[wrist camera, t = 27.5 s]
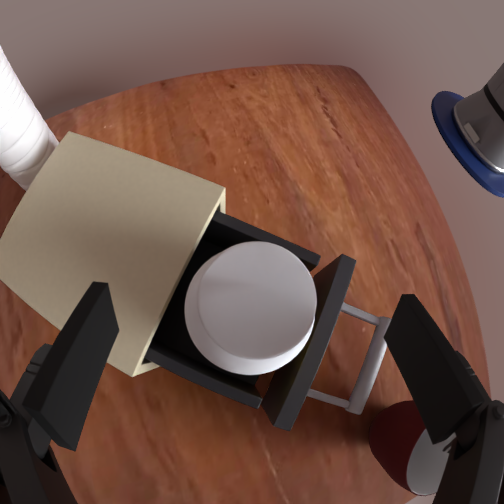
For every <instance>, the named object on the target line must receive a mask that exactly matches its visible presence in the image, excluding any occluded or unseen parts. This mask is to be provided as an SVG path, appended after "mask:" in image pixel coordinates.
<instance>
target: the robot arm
mask: <svg viewBox="0 0 504 504" xmlns="http://www.w3.org/2000/svg"><path fill="white" fill-rule="evenodd" d="M451 115H452V120H453V123H454V125H455V128H456V130H457V132H458V133H459V135H460V137H461V138H462V140H463V142H464V143H465V144H466V146H467V147H468V149H469V150H470V151H471V152H472V154H473V155H474V156H475V157H476V158H477V159H478V160H479V161H480V162H481V163H482V164H483V165H484V166H485V167H486V168H488V169H489V170H490V171H492V172H494V173H496V174H499V175H502V174H504V63H503V64H502V66H501V67H500V68H499V69H498V70H497V72H496V73H495V74H494V75H493V77H492V78H491V79H490V80H489V81H488V83H487V84H486V85H485V86H484V87H483V89H481V90H480V91H478V92H476V93H474V94H472V95H470V96H468V97H466V98H464V99H462V100H460V101H459V102H457V103H456V105H455V106H454V107H453V108H452V111H451ZM119 331H120V330H119V326H118V323H117V319H116V315H115V311H114V307H113V303H112V298H111V294H110V289H109V285H108V283H106V282H96V281H93V282H92V283H91V285H90V286H89V288H88V289H87V291H86V292H85V294H84V295H83V297H82V298H81V300H80V301H79V303H78V304H77V306H76V307H75V309H74V310H73V312H72V314H71V315H70V317H69V318H68V320H67V322H66V323H65V325H64V326H63V328H62V330H61V331H60V333H59V335H58V336H57V338H56V340H55V342H54V343H53V345H49V344H44V345H43V346H42V347H40V348H39V349H38V350H37V351H36V352H35V354H34V356H33V357H32V359H31V361H30V364H28V366H27V368H26V372H24V373H23V375H22V377H21V379H20V381H19V383H18V384H17V386H16V388H15V390H14V392H13V394H12V396H11V398H10V400H9V399H8V398H7V396H6V395H5V394H4V393H3V392H2V391H1V390H0V504H78V503H77V501H76V500H75V498H74V496H73V494H72V492H71V490H70V488H69V486H68V484H67V482H66V480H65V478H64V476H63V473H62V471H61V469H60V467H59V464H58V462H57V460H56V457H55V455H54V452H53V450H52V448H51V446H50V445H49V444H50V441H51V439H52V440H53V441H54V442H55V443H56V444H57V445H58V446H61V447H64V448H67V449H70V450H73V451H76V448H77V445H78V441H79V438H80V435H81V432H82V429H83V426H84V422H85V419H86V416H87V413H88V410H89V408H90V405H91V402H92V399H93V396H94V393H95V391H96V388H97V385H98V383H99V380H100V377H101V375H102V372H103V370H104V367H105V364H106V362H107V359H108V357H109V354H110V352H111V350H112V347H113V345H114V342H115V340H116V338H117V335H118V333H119ZM383 338H384V340H385V342H386V344H387V346H388V348H389V350H390V352H391V354H392V356H393V358H394V360H395V362H396V364H397V366H398V368H399V370H400V372H401V374H402V376H403V378H404V380H405V382H406V385H407V387H408V389H409V391H410V393H411V395H412V398H413V400H414V402H415V404H416V406H417V409H418V411H419V413H420V416H421V418H422V420H423V423H424V425H425V427H426V430H427V432H428V434H429V437H430V439H431V442H432V444H433V445H434V444H437V443H440V442H442V441H445V440H447V439H448V438H449V437H450V436H451V435H452V434H453V433H454V432H455V435H456V437H455V438H454V439H453V440H452V441H451V442H450V443H449V444H447V445H446V446H445V447H444V449H443V452H445V451H446V450H447V449H448V448H449V447H451V449H450V450H449V451H448V452H447V453H449V456H448V460H447V463H446V466H445V470H444V473H443V476H442V479H441V482H440V485H439V487H438V490H437V493H436V496H435V498H434V501H433V503H432V504H504V404H503V403H502V402H500V401H498V400H494V401H492V400H491V399H490V398H489V396H488V394H487V392H486V391H485V389H484V387H483V386H482V384H481V382H480V381H479V379H478V377H477V376H476V375H475V372H474V371H473V369H472V368H471V366H470V365H469V363H468V361H467V360H466V358H465V357H464V356H462V355H461V354H460V353H459V352H458V351H454V349H453V348H452V346H451V345H450V343H449V342H448V340H447V339H446V337H445V336H444V334H443V333H442V331H441V330H440V329H439V327H438V326H437V324H436V323H435V322H434V320H433V319H432V317H431V316H430V315H429V313H428V312H427V310H426V309H425V308H424V306H423V305H422V304H421V302H420V301H419V300H418V298H417V297H416V296H415V294H402V296H401V298H400V301H399V303H398V305H397V308H396V310H395V312H394V315H393V317H392V319H391V322H390V324H389V326H388V328H387V331H386V333H385V335H384V337H383Z"/></svg>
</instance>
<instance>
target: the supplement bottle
mask: <svg viewBox="0 0 504 504" xmlns="http://www.w3.org/2000/svg"><path fill="white" fill-rule="evenodd" d="M316 306H317V296H316V289H315V285H314V282H313V279H312V277H311V275H310V273H309V271H308V269H307V268H306V267H305V265H304V264H303V263H302V262H301V261H300V259H299V258H298V257H296V256H295V255H294V254H293V253H291V252H290V251H288V250H287V249H285V248H283V247H281V246H279V245H276V244H272V243H268V242H261V241H251V242H244V243H240V244H236V245H234V246H231V247H229V248H228V249H226V250H224V251H223V252H220V253H218V254H217V255H215V256H213V257H212V258H210V259H209V260H208V261H207V262H205V263H204V264H203V265H202V266H201V268H200V269H199V270H198V271H197V273H196V274H195V275H194V277H193V279H192V281H191V283H190V285H189V288H188V291H187V294H186V299H185V310H184V311H185V320H186V326H187V329H188V332H189V334H190V337H191V339H192V341H193V343H194V344H195V346H196V347H197V349H198V350H199V351H200V352H201V354H202V355H203V356H204V357H206V358H207V359H208V360H209V361H210V362H212V363H213V364H215V365H216V366H218V367H220V368H222V369H224V370H227V371H229V372H233V373H237V374H243V375H258V374H263V373H268V372H271V371H274V370H276V369H278V368H280V367H282V366H284V365H285V364H287V363H288V362H290V361H291V360H292V359H293V358H294V357H296V356H297V355H298V353H299V352H300V351H301V350H302V349H303V347H304V346H305V344H306V342H307V341H308V339H309V337H310V334H311V332H312V329H313V324H314V319H315V313H316Z"/></svg>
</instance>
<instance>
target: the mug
mask: <svg viewBox="0 0 504 504" xmlns="http://www.w3.org/2000/svg"><path fill="white" fill-rule="evenodd" d="M455 437H456V435H455V432H454V433H453V434H452V435H451V436H450V437H449V438H448V439H447V440H445V441H442V442H440V443H437V444H434V445H433V444H432V442H431V439H430V437H429V434H428V432H427V430H426V427H425V425H424V423H423V420H422V418H421V416H420V413H419V411H418V409H417V406H416V404H415V402H414V400H412V401H403V402H399V403H396V404H394V405H392V406H390V407H388V408H386V409H385V410H383V411H382V412H380V413H379V414H378V415H377V416H376V417H375V418H374V420H373V421H372V423H371V426H370V429H369V443H370V448H371V451H372V453H373V455H374V456H375V458H376V459H377V460H378V462H379V463H380V464H381V466H382V467H383V468H384V469H385V471H386V472H387V473H388V474H389V476H390V477H391V478H392V479H393V480H394V481H395V482H396V483H397V484H399V485H400V486H402V487H403V488H405V489H406V490H408V491H410V492H411V493H413V494H415V495H419V496H427V495H431V494H434V493H437V490H438V487H439V485H440V482H441V479H442V476H443V473H444V470H445V466H446V463H447V460H448V456H449V453H447V452H448V451H449V450H450V449H451V447H449V448H448V449H447V450H446V451H445V452H443V449H444V447H445V446H446V445H447V444H449V443H450V442H451V441H452V440H453V439H454V438H455Z"/></svg>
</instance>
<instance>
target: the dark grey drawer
mask: <svg viewBox="0 0 504 504" xmlns="http://www.w3.org/2000/svg"><path fill="white" fill-rule="evenodd" d="M251 241H261V242H268V243H272V244H276V245H279V246H281V247H283V248H285V249H287V250H288V251H290V252H291V253H293V254H294V255H295V256H296V257H298V258H299V259H300V261H301V262H302V263H303V264H304V265H305V267H306V268H307V269H308V271H309V272H310V271H312V270H313V269H314V268H315V267H316V266H317V265H318V263H319V260H320V258H321V256H320V255H318V254H316V253H313V252H311V251H309V250H307V249H305V248H302V247H300V246H298V245H296V244H293V243H291V242H289V241H287V240H284V239H282V238H280V237H277V236H275V235H273V234H271V233H268V232H266V231H264V230H261V229H259V228H257V227H255V226H252V225H250V224H248V223H245V222H243V221H241V220H238V219H236V218H234V217H231V216H229V215H227V214H224V213H222V212H219V211H217V210H216V211H215V213H214V215H213V217H212V219H211V221H210V223H209V224H208V226H207V228H206V230H205V232H204V234H203V236H202V238H201V240H200V242H199V244H198V246H197V247H196V249H195V251H194V253H193V255H192V257H191V259H190V261H189V263H188V265H187V267H186V269H185V271H184V273H183V275H182V277H181V279H180V281H179V283H178V285H177V287H176V289H175V292H174V294H173V296H172V298H171V300H170V302H169V304H168V306H167V308H166V310H165V312H164V315H163V317H162V319H161V321H160V323H159V325H158V327H157V330H156V332H155V334H154V336H153V338H152V341H151V343H150V345H149V347H148V349H147V352H146V354H145V356H144V358H146V359H148V360H150V361H151V362H153V363H155V364H157V365H159V366H161V367H163V368H165V369H167V370H169V371H171V372H173V373H175V374H177V375H179V376H181V377H183V378H185V379H187V380H189V381H191V382H193V383H196V384H198V385H200V386H202V387H204V388H207V389H209V390H211V391H214V392H216V393H218V394H221V395H223V396H225V397H228V398H230V399H233V400H235V401H238V402H240V403H243V404H245V405H248V406H251V407H253V408H256V409H258V408H259V406H260V404H261V405H262V407H263V409H264V410H265V412H266V414H267V416H268V418H269V419H270V421H271V423H272V425H273V426H275V427H278V428H281V429H284V430H287V431H290V430H291V428H292V426H293V424H294V422H295V420H296V418H297V416H298V413H299V411H300V409H301V407H302V405H303V403H304V400H305V398H306V396H308V397H311V398H314V399H317V400H321V401H324V402H327V403H330V404H334V405H337V406H340V407H344V408H345V410H346V411H348V412H351V413H354V414H358V415H360V414H361V413H362V411H363V408H364V406H365V404H366V401H367V399H368V396H369V394H370V391H371V389H372V386H373V384H374V381H375V379H376V376H377V373H378V371H379V368H380V365H381V362H382V359H383V356H384V353H385V350H386V347H387V344H386V342H385V340H384V338H383V337H384V335H385V333H386V331H387V328H388V326H389V324H390V322H391V318H388V317H376V316H374V315H372V314H369V313H367V312H365V311H362V310H360V309H358V308H355V307H353V306H351V305H348V304H346V303H344V302H343V301H344V298H345V295H346V292H347V289H348V286H349V283H350V280H351V277H352V274H353V271H354V267H355V264H356V260H354V259H352V258H350V257H348V256H346V255H344V254H341V255H340V256H339V257H337V258H336V259H335V260H334V261H332V262H331V263H330V264H329V265H327V266H326V267H325V268H323V269H322V270H321V271H320V272H318V273H317V274H316V275H314V278H313V282H314V285H315V289H316V296H317V306H316V313H315V319H314V324H313V329H312V332H311V334H310V337H309V339H308V341H307V342H306V344H305V346H304V347H303V349H302V350H301V351H300V352H299V353H298V355H297V356H296V357H294V358H293V359H292V360H291V361H290V362H288V363H287V364H285V365H284V366H282V367H280V368H278V369H276V372H275V374H274V376H273V378H272V381H271V383H270V385H269V387H268V389H267V392H266V394H265V396H264V398H263V400H262V397H261V395H260V394H259V392H258V391H257V389H256V387H255V384H256V381H257V379H258V377H259V375H260V374H258V375H243V374H237V373H233V372H229V371H227V370H224V369H222V368H220V367H218V366H216V365H215V364H213V363H212V362H210V361H209V360H208V359H207V358H206V357H204V356H203V355H202V354H201V352H200V351H199V350H198V349H197V347H196V346H195V344H194V343H193V341H192V339H191V337H190V334H189V332H188V329H187V326H186V320H185V311H184V310H185V299H186V294H187V291H188V288H189V285H190V283H191V281H192V279H193V277H194V275H195V274H196V273H197V271H198V270H199V269H200V268H201V266H202V265H203V264H204V263H205V262H207V261H208V260H209V259H210V258H212V257H213V256H215V255H217V254H218V253H220V252H223V251H224V250H226V249H228V248H229V247H231V246H234V245H236V244H240V243H244V242H251ZM340 311H342V312H344V313H346V314H349V315H351V316H354V317H356V318H358V319H361V320H363V321H366V322H368V323H370V324H373V325H376V328H375V331H374V334H373V337H372V340H371V343H370V346H369V349H368V352H367V355H366V358H365V360H364V363H363V366H362V368H361V371H360V374H359V376H358V379H357V381H356V384H355V386H354V389H353V391H352V394H351V396H350V398H349V401H348V400H345V399H341V398H338V397H335V396H332V395H329V394H325V393H322V392H319V391H316V390H313V389H310V387H311V385H312V382H313V380H314V378H315V375H316V373H317V370H318V368H319V366H320V363H321V361H322V358H323V356H324V353H325V351H326V348H327V346H328V343H329V340H330V338H331V335H332V332H333V330H334V327H335V324H336V321H337V319H338V316H339V313H340Z"/></svg>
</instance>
